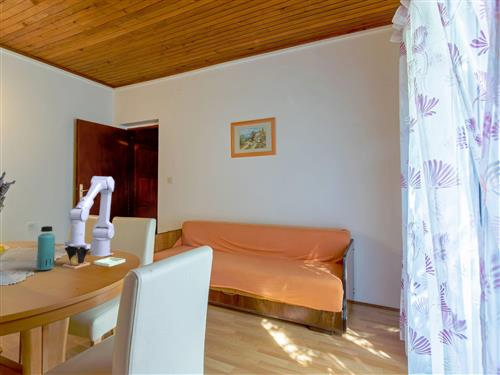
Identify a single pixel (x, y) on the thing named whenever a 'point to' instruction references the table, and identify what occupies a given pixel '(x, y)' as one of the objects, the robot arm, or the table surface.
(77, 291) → the table surface
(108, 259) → the tray
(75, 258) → the ball
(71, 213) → the robot arm
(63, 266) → the dish
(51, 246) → the beverage bottle
